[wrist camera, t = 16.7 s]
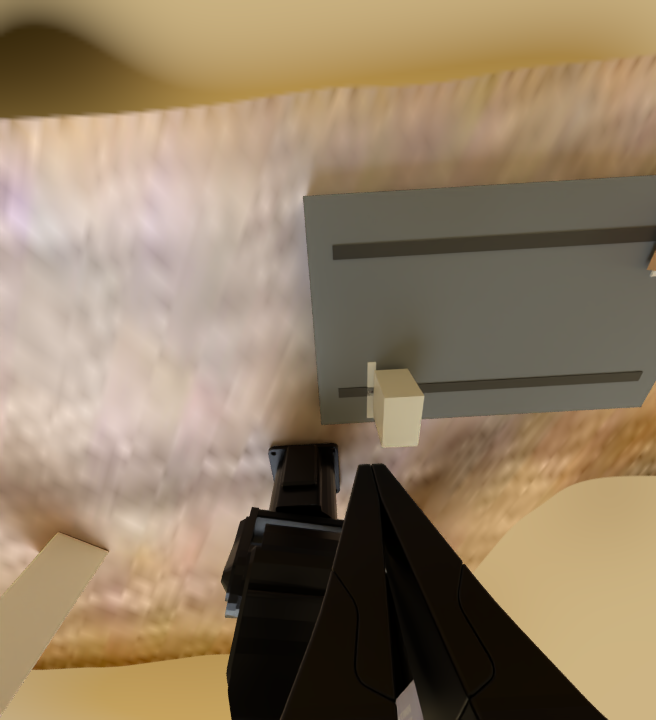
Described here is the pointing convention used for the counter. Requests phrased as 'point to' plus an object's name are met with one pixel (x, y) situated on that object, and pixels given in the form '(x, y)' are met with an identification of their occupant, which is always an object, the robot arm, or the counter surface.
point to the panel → (486, 296)
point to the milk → (41, 606)
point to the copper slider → (652, 263)
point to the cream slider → (397, 408)
